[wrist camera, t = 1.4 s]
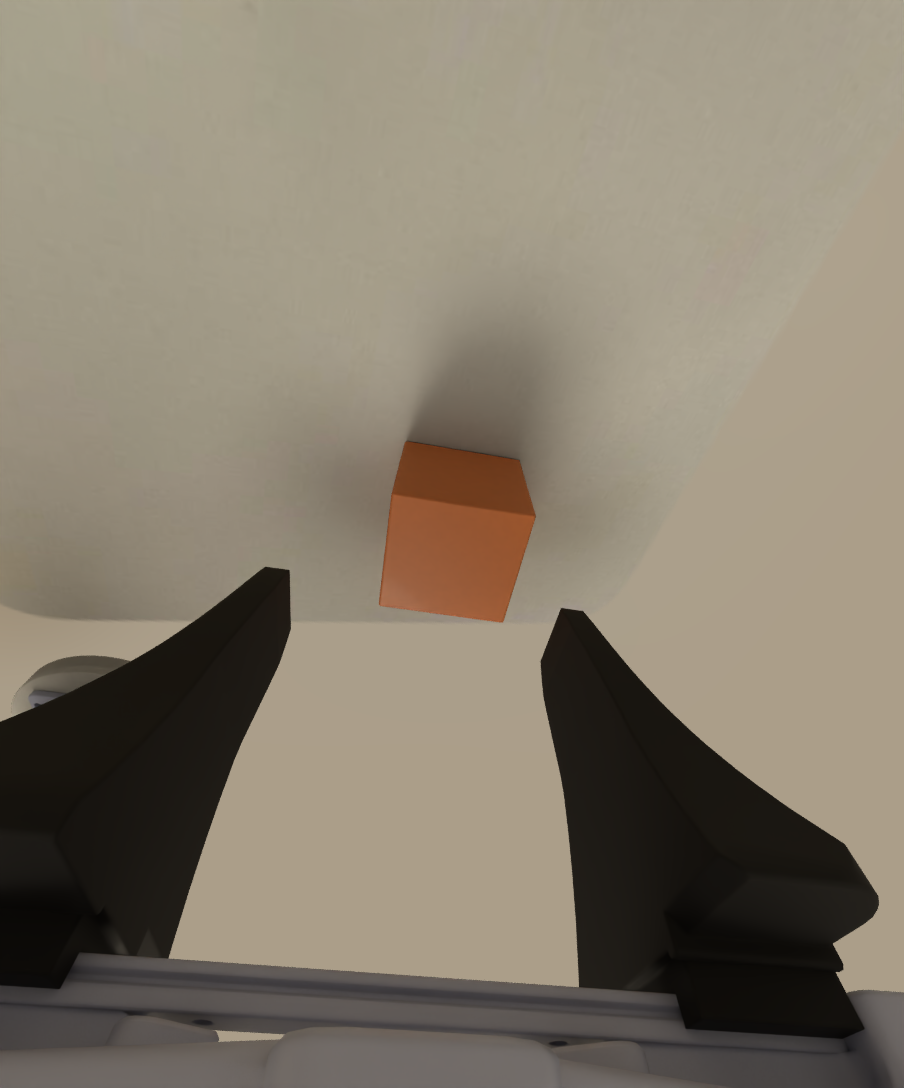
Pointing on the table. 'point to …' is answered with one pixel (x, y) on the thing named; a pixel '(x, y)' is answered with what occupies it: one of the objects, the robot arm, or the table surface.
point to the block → (455, 533)
